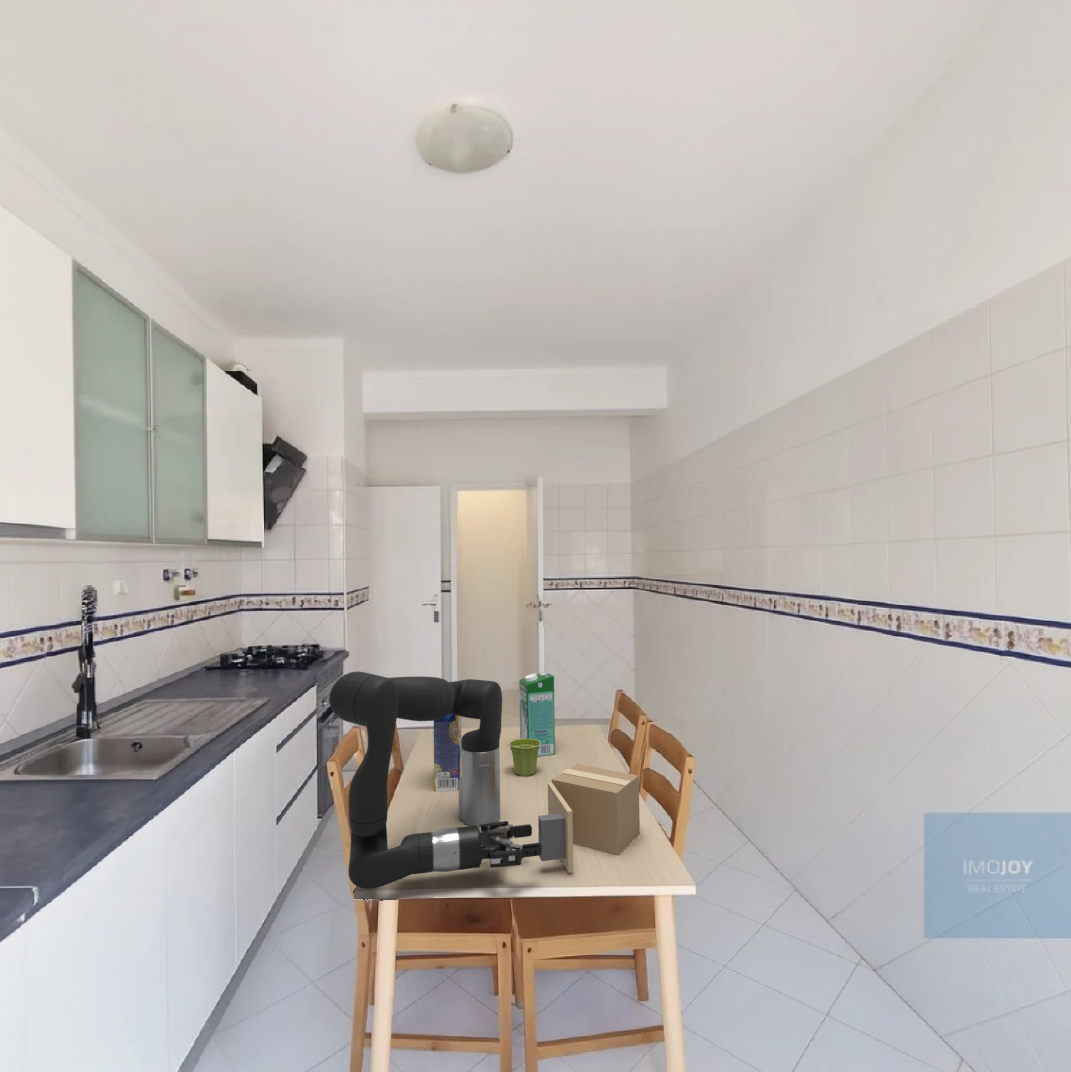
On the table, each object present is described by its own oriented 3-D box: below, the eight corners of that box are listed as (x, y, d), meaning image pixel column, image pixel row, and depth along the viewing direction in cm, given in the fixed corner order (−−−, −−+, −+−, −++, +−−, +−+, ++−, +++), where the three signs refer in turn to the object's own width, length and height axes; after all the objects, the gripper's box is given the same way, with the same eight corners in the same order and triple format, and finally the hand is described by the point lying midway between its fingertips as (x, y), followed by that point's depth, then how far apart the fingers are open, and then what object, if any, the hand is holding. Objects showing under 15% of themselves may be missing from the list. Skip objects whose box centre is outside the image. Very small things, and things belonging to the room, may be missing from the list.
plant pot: (508, 767, 186) (508, 738, 186) (540, 766, 187) (539, 737, 187) (509, 779, 177) (509, 748, 177) (542, 777, 178) (542, 747, 178)
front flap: (526, 839, 138) (526, 785, 138) (552, 836, 139) (552, 782, 140) (543, 876, 122) (543, 814, 123) (573, 872, 124) (572, 811, 124)
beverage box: (461, 776, 180) (460, 699, 180) (459, 790, 169) (458, 708, 169) (437, 777, 179) (437, 700, 180) (434, 791, 168) (433, 709, 169)
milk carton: (520, 749, 204) (519, 672, 205) (546, 746, 207) (545, 670, 207) (528, 757, 195) (527, 677, 196) (555, 754, 198) (554, 675, 199)
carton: (552, 837, 140) (551, 778, 140) (577, 818, 150) (576, 763, 151) (617, 855, 131) (617, 792, 132) (639, 833, 142) (638, 774, 142)
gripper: (459, 845, 115) (544, 835, 119) (451, 814, 129) (528, 806, 132) (459, 887, 115) (545, 875, 118) (452, 851, 128) (528, 842, 132)
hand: (536, 839), depth 125 cm, fingers open, 8 cm apart
